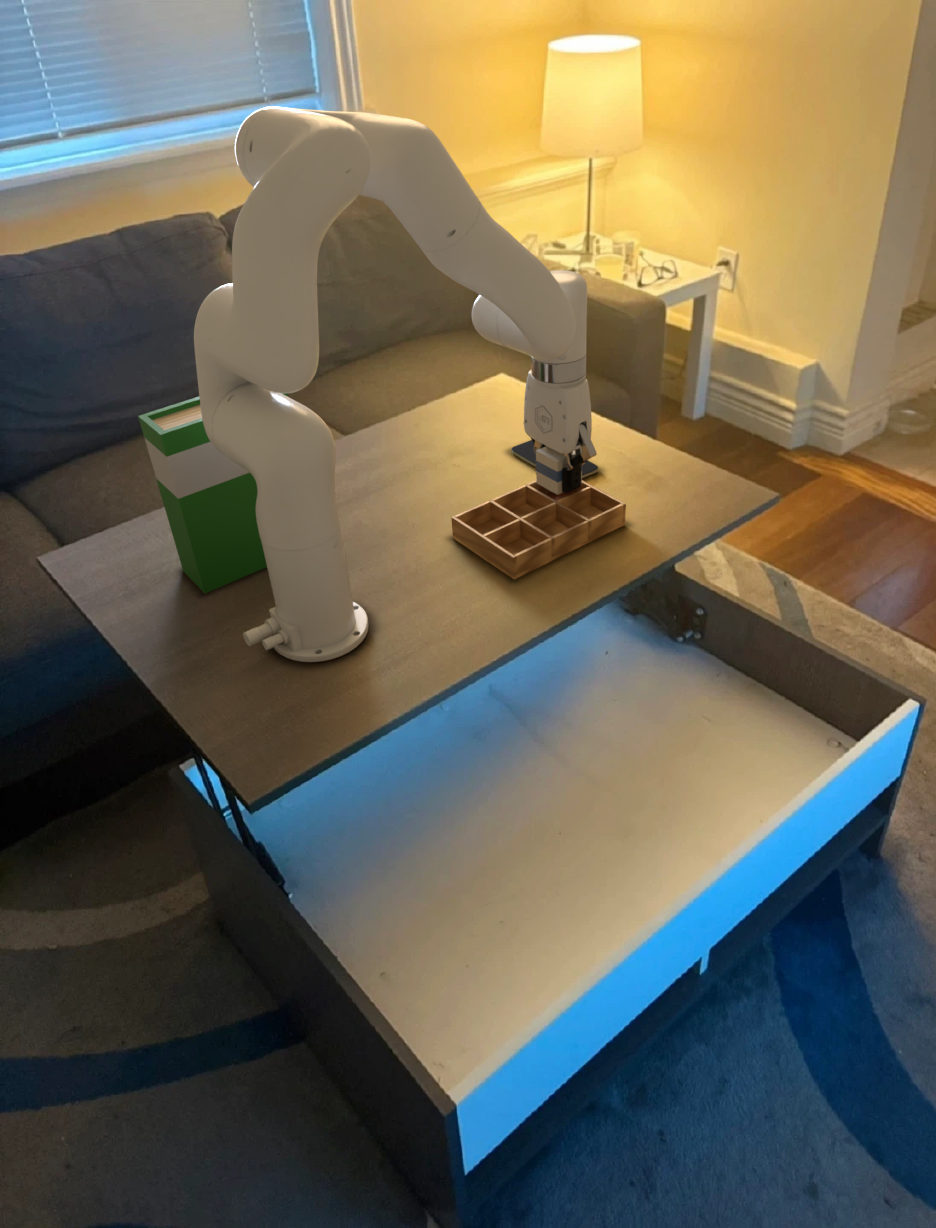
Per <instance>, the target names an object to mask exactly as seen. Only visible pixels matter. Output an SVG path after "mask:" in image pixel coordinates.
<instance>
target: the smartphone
mask: <svg viewBox="0 0 936 1228" xmlns="http://www.w3.org/2000/svg"><path fill="white" fill-rule="evenodd" d="M511 454H513V455H514V456H516V457H518V458H519V459H521V460H523V461H524V462H526V463H527V464H528V465H531V466H532V467H534V468H536V453H535V451H534V443H533V441H532V439H530V440H528V441H525V442H522V443H520V444H517V445H514V446H513V447H511ZM598 471H599V466H598V465H597V464H595V463H593V462H591V461H590V460H589V459H588V460H587V461H586V462H585V463H584V464H583V465H582V479H585V478H587V477H589V476H592V475H594V474H597V473H598Z"/></svg>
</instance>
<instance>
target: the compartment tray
mask: <svg viewBox="0 0 936 1228" xmlns="http://www.w3.org/2000/svg"><path fill="white" fill-rule="evenodd" d="M626 512H627V503H625V502H624V501H622V500H620V499H618V498H616V497H615V496H612V495H611V494H609V493H607V492H606V491H603V490H601V489H599V488H598V487H596V486H594V485H591V484H589V483H588V482H587V481H584V480H582V484H581V486H580V487H579V488H577V489H575V490H573V491H571V492H568V493H564V492H563V493H561V494H559V495H557V494H555V493H553V492H551V491H550V490H548V489H546V488H544V487H542V486H541V485H539V484H537V479H535V480H532V481H531V482H530V481H529V482H528V483H526V484H524V485H521V486H518V487H517V488H514V489H512V490H510V491H508V492H505V493H503V494H500V495H498V496H497V497H494V498H492V499H490V500H488V501H485V502H483V503H481V504H478V505H476V506H474V507H471V508H469V509H466V510H464V511H462V512H460V513H458V514H456V515H453V516H451V518H450V519H451V528H452V531H451V532H452V539H453V540H455V541H457V542H458V543H459V544H461V545H462V546H464V547H465V548H467V549H468V550H470V551H471V552H473V553H474V554H475V555H477V556H478V557H480V558H481V559H483V561H486V562H487V563H488V564H490V565H492V566H493V567H494V568H496V569H498V570H499V571H500V572H501V573H503V574H505V575H506V576H508V577H509V578H511V579H512V580H515V581H516V579H519V578H520V577H523V576H524V575H527V574H528V573H531V572H533V571H535V570H537V569H539V568H541V567H543V566H545V565H547V564H549V563H551V562H553V561H555V560H557V559H559V558H561V557H563V556H565V555H567V554H569V553H571V552H573V551H575V550H577V549H579V548H581V547H584V546H585V545H587V544H590V543H592V542H594V541H595V540H597V539H600V538H602V537H603V536H606V535H607V534H609V533H612V532H614V531H616V530H618V529H619V528H621V527H624V526H625V525H626V516H627V515H626V514H627V513H626Z"/></svg>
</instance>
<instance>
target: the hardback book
mask: <svg viewBox="0 0 936 1228" xmlns="http://www.w3.org/2000/svg"><path fill="white" fill-rule="evenodd" d="M281 394H283V395H285V396H287V397H289V393H281ZM137 417H138V420H139V424H140V427H141V432H142V434H143V438H144V442H145V445H146V448H147V452H148V455H149V458H150V462H151V465H152V469H153V472H154V476H155V479H156V482H157V485H158V490H159V493H160V497H161V500H162V503H163V507H164V510H165V513H166V517H167V521H168V524H169V527H170V531H171V533H172V537H173V541H174V545H175V547H176V548H175V549H176V551H177V554H178V555H177V556H178V558H179V561H180V565H181V569H182V571H183V573H184V574H185V575H186V576H187V577H188V578H189V579H190V580H191V581H192V582H193V583H194V584H195V585H196V586H197V588H199V589H200V590H201V591H202V592H203V593H204V594H207V593H209V592H213V591H214V590H217V589H219V588H222V587H223V586H226V585H229V584H231V583H233V582H236V581H238V580H240V579H242V578H245V577H248V576H249V575H252V574H254V573H257V572H260V571H261V570H264V569H266V568H267V564H266V560H265V555H264V551H263V546H262V542H261V538H260V535H259V530H258V526H257V520H256V499H257V484H256V481H255V479H254V477H253V476H252V474H251V473H249V472H248V471H246V470H245V469H243V468H242V467H241V466H240V465H238V464H237V463H235V462H234V461H232V460H231V459H229V458H228V457H226V456H225V455H223V454H222V453H221V452H219V451H218V450H217V449H216V448H215V447H214V446H213V444H212V443H211V442H210V440H209V438H208V436H207V434H206V431H205V428H204V425H203V420H202V414H201V406H200V397H199V396H196V397H193V398H190V399H186V400H183V401H181V402H177V403H174V404H171V405H168V406H165V407H162V408H158V409H155V410H152V411H149V412H146V413H142V414H140V415H137Z"/></svg>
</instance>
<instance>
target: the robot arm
mask: <svg viewBox="0 0 936 1228" xmlns="http://www.w3.org/2000/svg"><path fill="white" fill-rule="evenodd" d="M235 137H236V138H235V140H234V141H235V142H234V144H235V145H234V154H235V160H236V162H237V166H238V168H239V171H240V173H241V174H242V176H243V177H244V179H245V180H246V181H247V183H249V184H250V185H251V186H252V187H253V188H252V190H251V191H250V193H249V195H248V197H246V200H245V201H244V203H243V204H242V207H241V208H240V212H239V213H238V216H237V218H236V221H235V225H234V229H233V234H232V241H231V267H232V268H231V269H232V271H231V272H232V273H231V277H232V278H231V279H232V280H231V281H232V283H226V284H223V285H220V286H218V287H217V288H215V289H213V290H212V291H211V292H209V293H208V295H207V296H206V297H205V298H204V299H203V301H202V303H201V305H200V306H199V309H198V311H197V314H196V318H195V322H194V328H193V347H194V357H195V366H196V367H195V368H196V377H197V378H196V379H197V386H198V397H200V406H201V414H202V420H203V425H204V428H205V431H206V434H207V436H208V438H209V440H210V442H211V443H212V444H213V446H214V447H215V448H216V449H217V450H218V451H219V452H221V453H222V454H223V455H225V456H226V457H228V458H229V459H231V460H232V461H234V462H235V463H237V464H238V465H240V466H241V467H242V468H243V469H245V470H246V471H248V472H249V473H251V474H252V476H253V477H254V479H255V481H256V484H257V499H256V520H257V526H258V530H259V535H260V538H261V542H262V546H263V551H264V555H265V560H266V564H267V567H266V568H267V572H268V573H267V574H268V577H269V581H270V587H271V590H272V596H273V599H274V604H275V606H274V607H272V608H269V609H268V611H269V616H270V618H267V619H265V620H264V623H263V624H261V625H259V626H255V627H253V628H251V629H249V630H247V631H244V632H242V637H243V640H244V642H245V643H246V645H247V646H248V647H250V648H251V647H252V646H255V645H257V644H259V643H261V644H262V647H263V648H264V650H266V651H269V650H271V649H274V650H275V651H276V652H277V654H279V655H280V656H282V657H284V658H285V659H289V660H291V661H295V662H302V663H318V662H319V663H320V662H326V661H329V660H330V661H331V660H334V659H337V658H340V657H342V656H344V655H347V654H348V653H350V652H351V651H353V650H354V649H356V648H357V647H358V646H359V645H360V644H361V643H362V642H363V641H364V639H365V638H366V637H367V634H368V632H369V627H370V626H369V623H370V622H369V617H368V614H367V612H366V610H365V609H364V608H363V607H362V606H361V605H360V604H358V603H357V602H355V601H353V594H352V589H351V582H350V576H349V569H348V565H347V563H348V562H347V559H346V553H345V552H346V551H345V545H344V539H343V532H342V528H341V527H342V526H341V522H340V517H339V510H338V503H337V495H336V462H337V450H336V442H335V439H334V436H333V433H332V431H331V429H330V428H329V426H328V425H327V424H326V422H325V421H324V420H323V418H322V417H320V416H319V414H317V413H316V412H315V411H313V410H312V409H311V408H309V407H308V406H306V405H304V404H302V403H301V402H299V401H297V400H295V399H293V398H291V397H289V396H288V397H287V396H285V395H283V394H281V393H288V394H294V393H297V392H300V391H301V390H303V389H305V388H307V387H308V386H309V385H310V383H311V382H312V381H313V379H314V377H315V376H316V373H317V370H318V367H319V361H320V359H319V358H320V331H319V330H320V329H319V327H320V326H319V325H320V324H319V303H318V302H319V299H318V262H319V261H318V260H319V253H320V249H321V246H322V243H323V241H324V238H325V236H326V234H327V233H328V231H329V229H330V227H331V225H333V223H334V222H335V221H336V220H337V219H338V217H339V216H340V215H341V214H342V213H343V212H344V211H345V210H346V209H347V208H348V207H349V206H350V205H351V204H353V202H354V201H355V200H356V199H357V198H358V197H359V196H362V197H366V198H371V199H374V200H379V201H381V202H382V203H384V204H385V206H387V207H388V208H389V209H390V211H391V212H392V213H393V215H394V216H395V217H396V219H397V220H398V221H399V222H400V224H402V226H403V227H404V229H405V230H406V231H407V233H408V234H409V236H410V237H411V238H412V239H413V240H414V242H415V243H416V244H417V246H418V247H419V249H420V250H421V251H422V252H423V254H424V256H426V258H427V259H428V261H429V262H430V263H431V264H432V265H433V267H435V269H437V270H438V271H440V272H441V273H442V274H444V275H445V276H447V277H448V278H450V279H451V280H452V281H454V282H456V283H457V284H458V285H461V286H463V287H465V289H468V290H470V291H472V292H473V293H476V294H477V295H478V296H477V298H476V299H475V300H474V302H473V305H472V307H471V321H472V326H473V327H474V330H475V331H476V332H477V334H479V335H480V336H481V338H483V339H484V340H486V341H489V342H491V343H492V344H495V345H498V346H502V347H504V348H506V349H511V350H514V351H516V352H519V353H522V354H524V355H526V356H529V357H530V370H529V371H528V373H527V378H526V383H525V390H524V398H523V399H524V400H523V402H524V403H523V429H524V433H525V434H526V435H527V436H528V437H529V438H530V440H532V441H533V443H534V451H535V453H536V450H538V449H541V448H543V447H545V446H548V447H550V448H552V449H554V450H556V451H558V452H560V453H562V454H563V457H564V462H565V468H563V469H562V491H563V492H564V493H568V492H571V491H573V490H575V489H577V488H579V487H580V486H581V465H583V464H584V463H585V462H586V461H587V460H588V461H589V460H591V459H592V458H594V457H596V456H597V455H598V454H597V450H596V448H595V446H594V443H593V441H592V431H593V430H592V429H593V427H592V425H593V424H592V422H593V421H592V420H593V419H592V417H593V416H592V402H591V396H590V386H589V382H588V381H589V380H588V379H587V378H586V376H587V333H588V332H587V331H588V329H587V325H588V323H587V322H588V320H587V319H588V285H587V281H586V279H585V278H584V276H583V275H582V274H580V273H578V272H576V271H573V270H566V269H565V270H564V269H557V270H556V269H555V270H549V268H547V266H546V265H545V264H544V263H543V262H542V261H541V260H540V259H539V258H538V257H537V256H536V255H535V254H533V253H532V252H531V251H530V250H529V249H528V248H526V247H525V246H524V245H523V244H522V243H521V242H520V241H519V240H518V239H517V238H515V236H513V235H512V234H511V233H510V231H508V230H506V228H505V227H503V226H502V225H501V224H499V223H498V222H497V221H496V220H495V219H494V218H493V217H492V216H491V215H490V214H489V212H488V210H487V209H486V207H484V205H483V203H482V202H481V200H480V199H479V197H478V196H477V194H476V193H475V192H474V190H473V188H472V187H471V186H470V184H469V182H468V180H467V179H466V178H465V176H464V175H463V173H462V172H461V170H460V168H459V167H458V164H456V162H455V161H454V158H452V156H451V155H450V153H449V152H448V150H447V148H446V146H444V144H443V143H442V141H441V140H440V138H439V136H437V134H435V132H434V131H433V130H432V129H431V128H429V126H427V125H426V124H424V123H423V122H420V121H417V120H414V119H411V118H406V117H399V116H393V115H389V114H381V113H374V112H364V111H337V110H335V111H333V110H319V109H310V108H309V109H308V108H295V107H284V106H266V107H263V108H259V109H257V110H255V111H254V112H252V113H251V114H250V115H248V116H246V118H245V119H244V120H243V122H242V123H241V124H240V127H239V129H238V131H237V133H236V136H235ZM572 451H575V455H576V456H575V457H574V458H573V459H572V456H571V452H572Z"/></svg>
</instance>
